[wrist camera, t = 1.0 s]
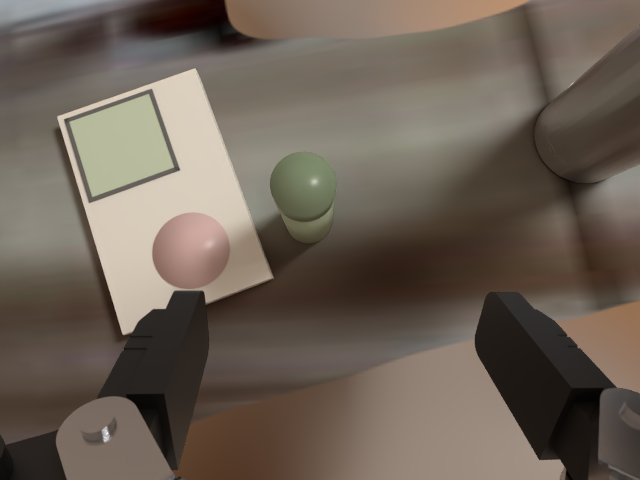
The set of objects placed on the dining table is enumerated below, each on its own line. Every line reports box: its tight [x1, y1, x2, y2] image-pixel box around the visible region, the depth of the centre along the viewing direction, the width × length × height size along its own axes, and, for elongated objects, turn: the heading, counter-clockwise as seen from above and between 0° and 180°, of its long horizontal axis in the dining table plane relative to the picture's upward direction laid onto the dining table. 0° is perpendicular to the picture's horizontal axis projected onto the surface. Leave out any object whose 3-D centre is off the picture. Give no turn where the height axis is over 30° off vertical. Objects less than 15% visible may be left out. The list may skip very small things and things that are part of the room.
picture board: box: [57, 69, 274, 335], centre depth 38 cm, size 14×22×2 cm, turn 21°
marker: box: [270, 152, 336, 243], centre depth 32 cm, size 4×4×12 cm
